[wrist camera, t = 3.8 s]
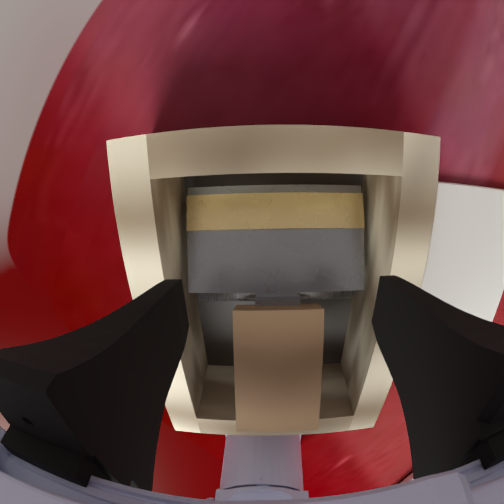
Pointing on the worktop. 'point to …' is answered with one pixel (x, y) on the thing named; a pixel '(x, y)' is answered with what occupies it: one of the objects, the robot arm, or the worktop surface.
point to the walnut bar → (278, 367)
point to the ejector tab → (275, 243)
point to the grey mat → (467, 248)
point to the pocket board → (221, 312)
